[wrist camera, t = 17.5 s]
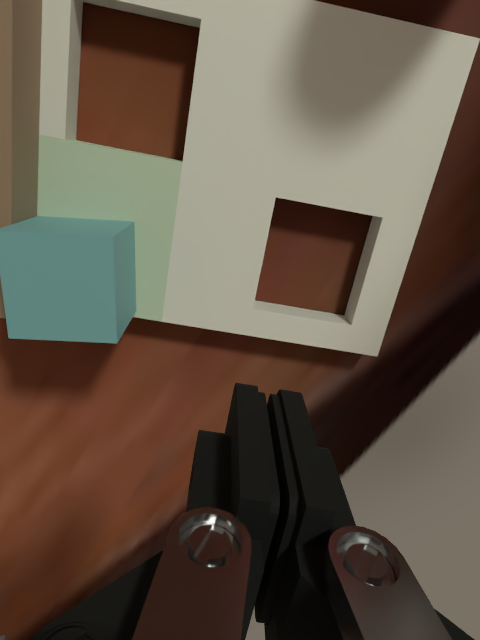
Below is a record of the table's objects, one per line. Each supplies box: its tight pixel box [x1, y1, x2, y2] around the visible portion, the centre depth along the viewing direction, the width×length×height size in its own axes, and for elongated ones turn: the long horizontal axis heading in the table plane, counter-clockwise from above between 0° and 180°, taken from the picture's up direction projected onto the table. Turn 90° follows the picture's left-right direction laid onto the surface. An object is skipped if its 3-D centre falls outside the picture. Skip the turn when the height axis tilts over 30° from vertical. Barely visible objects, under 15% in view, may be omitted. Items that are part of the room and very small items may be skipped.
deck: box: [0, 0, 480, 356], centre depth 27 cm, size 25×20×6 cm
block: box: [0, 216, 136, 343], centre depth 26 cm, size 6×6×6 cm
